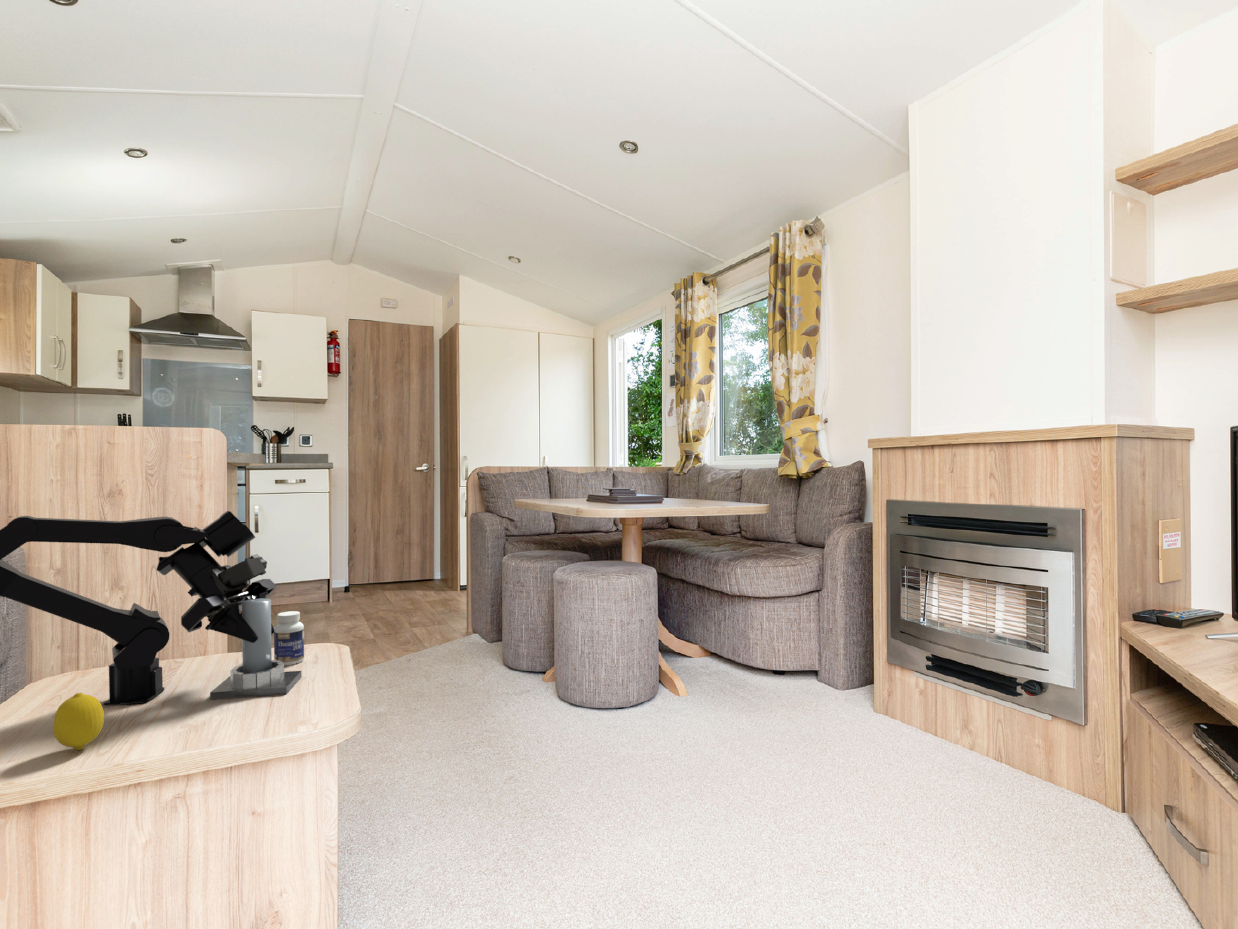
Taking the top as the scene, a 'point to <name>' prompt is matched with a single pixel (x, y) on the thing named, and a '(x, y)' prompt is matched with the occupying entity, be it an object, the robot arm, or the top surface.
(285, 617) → the pill bottle
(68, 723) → the lemon
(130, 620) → the robot arm
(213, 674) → the top surface
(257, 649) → the grey rounded cylinder
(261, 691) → the duct plate
